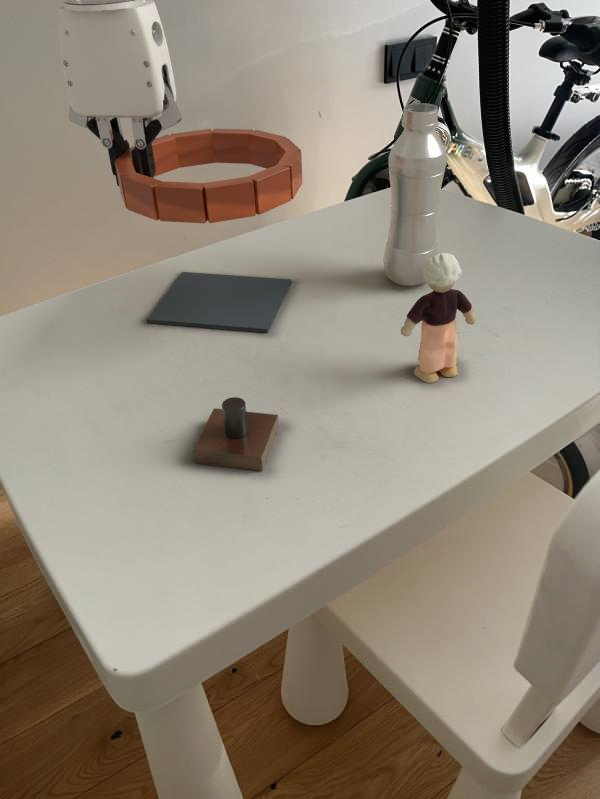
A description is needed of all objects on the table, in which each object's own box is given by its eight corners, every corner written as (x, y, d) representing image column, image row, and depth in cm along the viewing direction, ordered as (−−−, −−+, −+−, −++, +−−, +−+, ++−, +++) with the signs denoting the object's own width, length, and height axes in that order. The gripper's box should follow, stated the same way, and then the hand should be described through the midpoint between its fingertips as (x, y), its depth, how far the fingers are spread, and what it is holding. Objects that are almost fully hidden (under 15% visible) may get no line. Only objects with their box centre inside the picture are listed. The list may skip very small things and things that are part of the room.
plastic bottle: (372, 284, 88) (378, 111, 77) (398, 262, 93) (407, 96, 81) (421, 297, 85) (434, 119, 74) (445, 274, 90) (462, 103, 78)
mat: (147, 323, 83) (146, 319, 82) (182, 275, 92) (182, 271, 92) (267, 333, 80) (267, 329, 80) (291, 282, 89) (291, 279, 89)
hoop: (92, 218, 72) (85, 184, 70) (160, 156, 86) (156, 126, 84) (277, 227, 68) (274, 192, 66) (315, 161, 83) (314, 130, 81)
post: (194, 463, 63) (188, 421, 60) (215, 420, 68) (210, 380, 65) (262, 471, 62) (259, 429, 59) (278, 427, 66) (276, 387, 64)
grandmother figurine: (449, 353, 76) (461, 237, 68) (474, 370, 73) (490, 252, 65) (389, 376, 73) (394, 258, 65) (413, 395, 70) (422, 274, 62)
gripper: (196, -19, 69) (216, 173, 80) (44, -17, 72) (84, 168, 83) (168, -8, 64) (194, 198, 74) (5, -6, 67) (52, 192, 77)
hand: (135, 181), depth 79 cm, fingers closed on hoop, 1 cm apart
